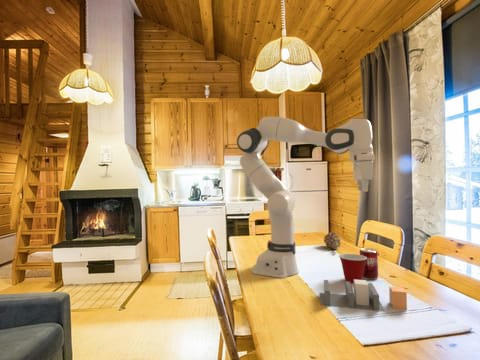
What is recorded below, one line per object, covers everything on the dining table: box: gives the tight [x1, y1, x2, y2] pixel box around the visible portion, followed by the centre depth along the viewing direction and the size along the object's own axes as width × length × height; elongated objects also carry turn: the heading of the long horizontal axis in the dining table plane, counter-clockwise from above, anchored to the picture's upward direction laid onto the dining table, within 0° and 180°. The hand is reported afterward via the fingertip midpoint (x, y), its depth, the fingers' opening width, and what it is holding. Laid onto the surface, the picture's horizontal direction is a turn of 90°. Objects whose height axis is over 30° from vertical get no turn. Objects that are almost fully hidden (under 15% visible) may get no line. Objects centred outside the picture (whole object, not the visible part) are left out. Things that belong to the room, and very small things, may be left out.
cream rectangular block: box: [353, 279, 369, 306], centre depth 90 cm, size 4×4×7 cm
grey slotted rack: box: [319, 279, 386, 312], centre depth 91 cm, size 20×10×6 cm, turn 75°
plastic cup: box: [338, 253, 367, 285], centre depth 110 cm, size 11×11×12 cm
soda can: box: [359, 247, 379, 280], centre depth 117 cm, size 7×7×12 cm
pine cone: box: [323, 231, 342, 250], centre depth 163 cm, size 22×10×10 cm, turn 2°
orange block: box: [388, 286, 408, 310], centre depth 88 cm, size 4×4×7 cm
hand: (362, 191), depth 108 cm, fingers open, 8 cm apart
